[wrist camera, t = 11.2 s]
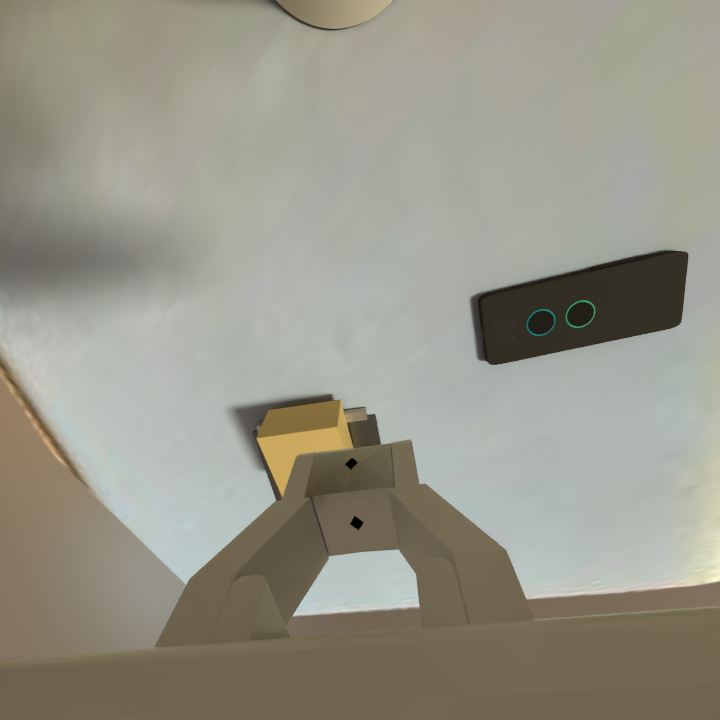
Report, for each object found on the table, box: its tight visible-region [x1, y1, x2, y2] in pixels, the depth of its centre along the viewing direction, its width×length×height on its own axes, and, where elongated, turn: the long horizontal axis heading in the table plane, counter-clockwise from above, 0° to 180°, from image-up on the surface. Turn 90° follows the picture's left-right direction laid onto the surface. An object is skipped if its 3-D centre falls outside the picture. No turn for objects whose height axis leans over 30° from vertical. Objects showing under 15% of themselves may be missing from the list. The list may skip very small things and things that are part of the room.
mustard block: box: [257, 399, 353, 497], centre depth 40 cm, size 5×9×10 cm
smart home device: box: [478, 251, 688, 365], centre depth 36 cm, size 8×2×20 cm
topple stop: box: [253, 407, 381, 501], centre depth 44 cm, size 13×16×1 cm
